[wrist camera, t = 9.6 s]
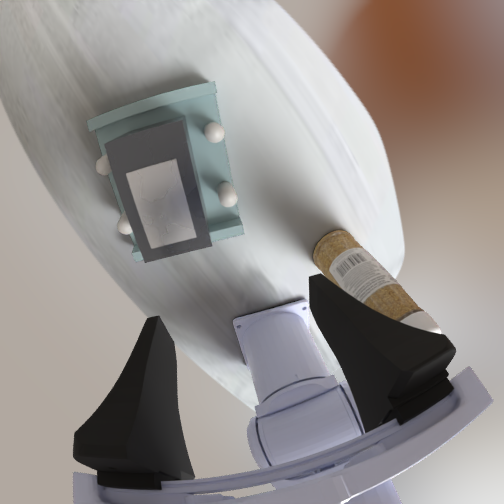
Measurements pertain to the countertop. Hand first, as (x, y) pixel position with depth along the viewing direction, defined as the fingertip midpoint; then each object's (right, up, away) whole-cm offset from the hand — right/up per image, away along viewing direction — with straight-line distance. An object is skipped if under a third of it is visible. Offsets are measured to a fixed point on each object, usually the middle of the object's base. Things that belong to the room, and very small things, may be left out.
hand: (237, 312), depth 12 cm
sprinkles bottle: (+8, +3, +13) cm, 16 cm away
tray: (-5, +9, +6) cm, 12 cm away
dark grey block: (-5, +8, +5) cm, 11 cm away
